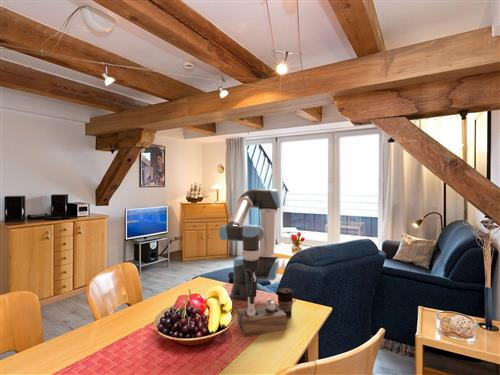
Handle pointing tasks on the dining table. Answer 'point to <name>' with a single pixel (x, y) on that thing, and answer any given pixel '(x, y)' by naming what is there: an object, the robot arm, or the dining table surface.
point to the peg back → (271, 306)
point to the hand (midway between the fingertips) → (251, 309)
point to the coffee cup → (285, 300)
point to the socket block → (261, 321)
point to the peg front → (251, 312)
